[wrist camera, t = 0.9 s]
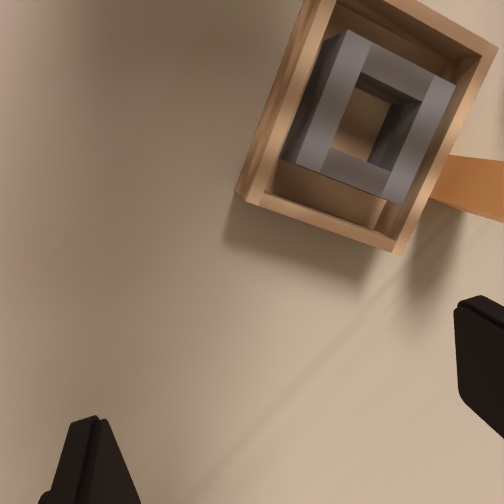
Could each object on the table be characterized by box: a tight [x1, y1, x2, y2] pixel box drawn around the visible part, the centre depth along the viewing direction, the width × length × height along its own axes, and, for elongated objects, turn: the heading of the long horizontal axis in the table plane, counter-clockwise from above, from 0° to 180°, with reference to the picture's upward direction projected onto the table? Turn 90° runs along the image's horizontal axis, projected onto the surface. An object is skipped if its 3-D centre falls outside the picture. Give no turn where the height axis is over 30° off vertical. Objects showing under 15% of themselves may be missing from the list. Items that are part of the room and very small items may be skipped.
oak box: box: [235, 0, 499, 256], centre depth 33 cm, size 17×14×6 cm
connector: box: [429, 155, 504, 223], centre depth 34 cm, size 4×4×11 cm
